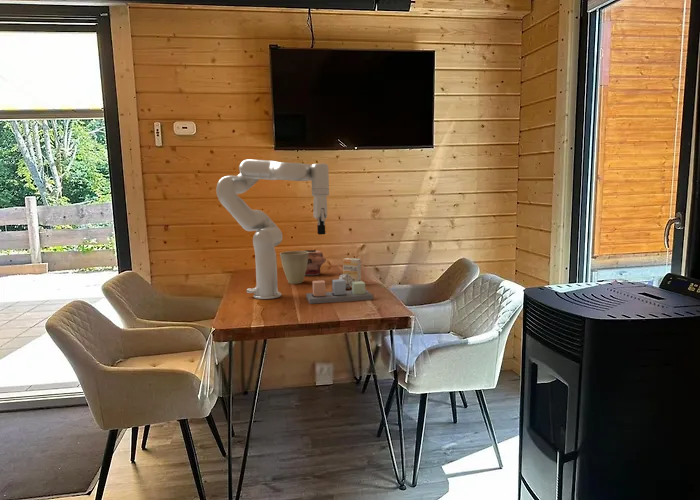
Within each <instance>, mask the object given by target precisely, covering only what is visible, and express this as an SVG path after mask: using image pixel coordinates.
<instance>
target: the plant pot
mask: <svg viewBox="0 0 700 500" xmlns="http://www.w3.org/2000/svg"><path fill="white" fill-rule="evenodd" d="M308 254H309V252H307V251H305V250H291V251H290V250H289V251H288V250H287V251H282V252H280V253H279V256H280V260H281V265H282V268H283V272H284V274H285V278H286V279H287V280H286V281H287V282H288V284H290V285H298V284H302V283H303V282H304V279H305V276H306V275H305V273H306V268H307V263H308Z"/></svg>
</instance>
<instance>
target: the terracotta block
mask: <svg viewBox="0 0 700 500" xmlns="http://www.w3.org/2000/svg"><path fill="white" fill-rule="evenodd" d="M326 292H327V291H326V281H325V280H324V279H323V280H321V279H320V280H312V293H313V295H314V296H326Z"/></svg>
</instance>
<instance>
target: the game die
mask: <svg viewBox="0 0 700 500" xmlns="http://www.w3.org/2000/svg"><path fill="white" fill-rule="evenodd" d="M338 274H339V276H338V279H344V280H345V283H346V289H350V290H352V282H353V278H352V277H351V276H350V275H349V274H350V272H349V274H343V273H342V274H341V273H340V272H339V273H338ZM354 280H355V279H354Z"/></svg>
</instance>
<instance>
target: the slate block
mask: <svg viewBox="0 0 700 500" xmlns="http://www.w3.org/2000/svg"><path fill="white" fill-rule="evenodd" d="M331 282H332V283H331V284H332V292H333V294H334V295H345V294H346V291H347V288H346V283H345V280H344V279H339V278H338V279H332V281H331Z"/></svg>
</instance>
